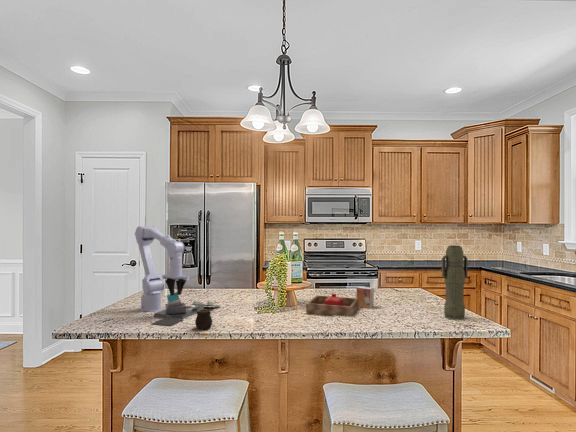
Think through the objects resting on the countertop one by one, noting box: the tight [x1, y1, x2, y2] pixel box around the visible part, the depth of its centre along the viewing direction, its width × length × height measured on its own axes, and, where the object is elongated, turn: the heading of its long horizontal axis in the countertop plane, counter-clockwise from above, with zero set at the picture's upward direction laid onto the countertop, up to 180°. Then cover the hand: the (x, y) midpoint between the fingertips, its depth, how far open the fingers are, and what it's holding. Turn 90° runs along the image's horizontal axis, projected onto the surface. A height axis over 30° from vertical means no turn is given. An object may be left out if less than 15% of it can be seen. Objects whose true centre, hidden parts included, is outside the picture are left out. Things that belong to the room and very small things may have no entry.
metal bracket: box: [189, 300, 222, 311], centre depth 198 cm, size 14×6×15 cm
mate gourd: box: [194, 306, 214, 331], centre depth 163 cm, size 7×8×10 cm
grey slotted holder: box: [164, 302, 200, 314], centre depth 188 cm, size 16×9×3 cm, turn 112°
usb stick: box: [166, 291, 182, 306], centre depth 186 cm, size 6×2×7 cm, turn 117°
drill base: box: [153, 309, 197, 320], centre depth 187 cm, size 16×12×2 cm
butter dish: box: [324, 293, 344, 306], centre depth 200 cm, size 12×12×8 cm
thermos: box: [441, 244, 469, 321], centre depth 180 cm, size 9×12×35 cm
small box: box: [355, 286, 375, 309], centre depth 205 cm, size 8×6×10 cm
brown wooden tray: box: [305, 295, 360, 317], centre depth 197 cm, size 23×21×5 cm
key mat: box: [150, 318, 184, 327], centre depth 173 cm, size 10×10×1 cm
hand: (175, 294), depth 187 cm, fingers closed on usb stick, 4 cm apart
